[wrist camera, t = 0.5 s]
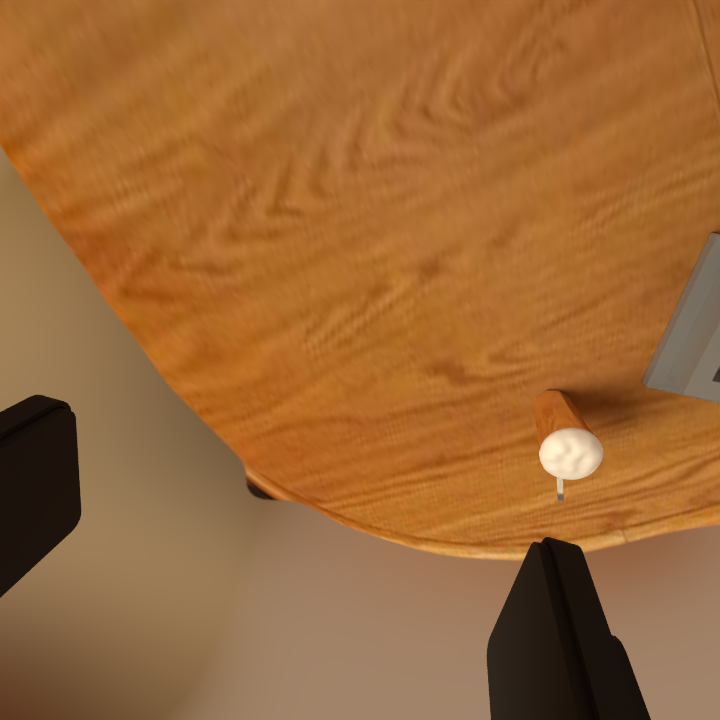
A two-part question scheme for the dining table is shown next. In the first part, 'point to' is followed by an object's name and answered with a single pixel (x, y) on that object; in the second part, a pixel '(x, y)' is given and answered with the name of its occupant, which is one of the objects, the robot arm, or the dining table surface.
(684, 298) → the socket
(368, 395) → the dining table surface
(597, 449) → the milkshake
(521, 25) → the dining table surface
